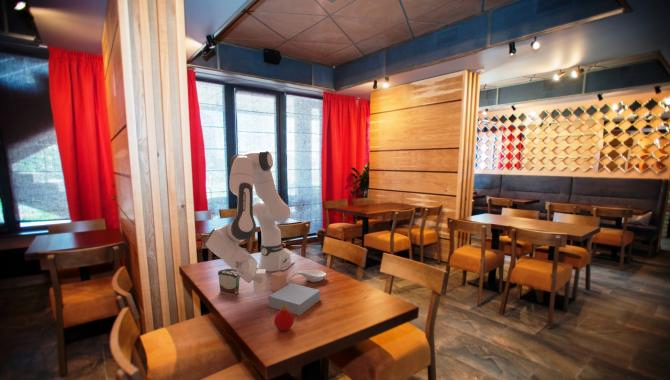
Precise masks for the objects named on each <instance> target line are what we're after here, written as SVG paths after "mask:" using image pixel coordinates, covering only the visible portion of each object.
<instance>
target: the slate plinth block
mask: <svg viewBox="0 0 670 380" xmlns="http://www.w3.org/2000/svg"><path fill="white" fill-rule="evenodd" d="M319 300H320V301H321V289H317V288H313V287H312V288H311V287H308V286H304V285H300V284H295V283H289V285H287V286H285V287H284V288H282V289H280V290H278V291H277V292H276V291H274V292H273V293H271V294H270V295H268V307H269V308H273V309H275V308H276V309H277V310H279V309H280V310H279V311H281V306H283V303H284V305H285V306H287V310H288V311H290V312H291V313H294V314H293V315H295V314H297V315H296V316H299V315H300V314H301V315H302V314H304V313H305V312H306V311H308V310H309V309H310V308H311V306H312V307H313V306H314V305H315V303H316V304H317V303H318V302H319ZM307 309H308V310H307ZM303 312H304V313H303ZM301 315H300V316H301Z"/></svg>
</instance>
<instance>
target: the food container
mask: <svg viewBox="0 0 670 380" xmlns="http://www.w3.org/2000/svg"><path fill="white" fill-rule="evenodd" d="M217 276H218V284H219V292H220V293H223V294H227V295H232V296H237V295H238V294H239V292H240V291H239V290H240V280H241V279H240V278H241V277H240V276H239V275H238V274H237V272H236V268H235V269H232V268H224V269H220V270H218V271H217Z"/></svg>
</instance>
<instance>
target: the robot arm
mask: <svg viewBox="0 0 670 380" xmlns="http://www.w3.org/2000/svg"><path fill="white" fill-rule="evenodd" d="M229 165H230V174H229V182H228V183H229V190H230V192H231V193H232V194H233V195H235V196H236V197H237V208H236V210H237V211H236V212H237V213H236V216H235V218H234V219H233V220H232V221H231V222H230V223H228V224H226V225H224V226H221V227H215V228H213V229H211V231H210V232H209V233H208V234H207V236H206V238H205V246H206V247H207V248H208V249H209V250H210V251H211V252H212V253H213V254H214V255H216V257H218V258H220V259H221V260H222V261H223V262H224V263H225V265H227V266H229V267H230V269H236V272H237V274H238V275H239V276H240V278H241V279H242V280H243V281H244V282H246V283H247V284H251V282H252V281H253V282H254V281H256V282H258V283H259V284H260V283H261V282H262V279H261V278H260V277H258V276H257V275H256V274H255V273H256V270H258V269H266V272H278V271H280V272H282V271H285V270H287V269H288V268H289V267H291V266H292V265H294V264H295V261H294V260H293V259H291V254H290V252H288V251H287V250H285V249H284V247H286V245H287V244H286V243H285V242H282V231H281V229H280V227H278V225H277V224H276V223H280V222H286V221H287V220H289V218H290V216H291V207H290V206H289V205H288V204H287V203H286V202H284V200H283V199H282V198H281V196H280V195H279V193H278V190H277V189H276V188H277V187H276V185H275V181H274V177H273V174H272V171H271V169H272V167H273V165H274V160H273V156H272V154H271V152H269V151H267V150H258V151H255V150H254V151H249V152H244V153H237V154H235V155H233V156H232V157H231V158H230V161H229ZM253 190H255V193H256V196H257V197H258V198H259V199H260V200H261V201H256V202H255V203H254V194H253V192H254V191H253ZM255 218H256V220H257V222H258V225H259V229H260V233H261V234H260V235H261V244H260V257H259V263H258V261H257V260H256V259H255V258H254V256H253V255H251V254H250V252H248V249H246V248H245V247H241V246H240V245H239V244H240V243H242V242H243V241H245V240H248V239H251V238H252V237H253V236H254V235H255V233H256V231H257V225H256V220H255ZM257 265H258V267H257Z"/></svg>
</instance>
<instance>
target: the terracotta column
mask: <svg viewBox="0 0 670 380" xmlns="http://www.w3.org/2000/svg"><path fill="white" fill-rule="evenodd" d="M286 277H287V272H283V271H274V273H272V274H271V291H273V292H277V291H278V290H280V289H282V288H284V287H285V286H286Z"/></svg>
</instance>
